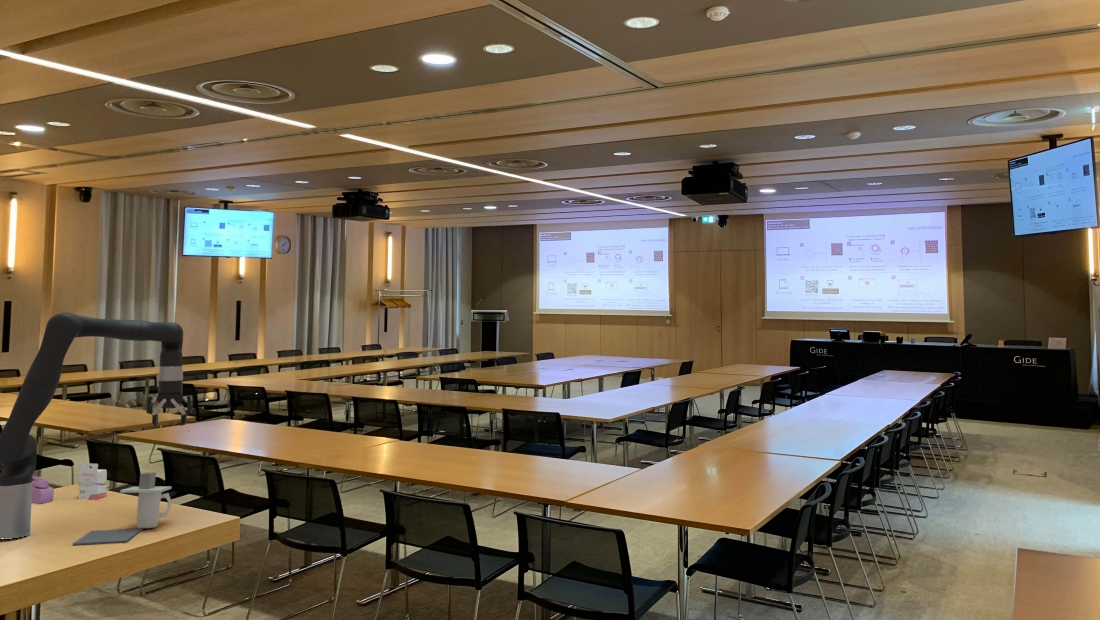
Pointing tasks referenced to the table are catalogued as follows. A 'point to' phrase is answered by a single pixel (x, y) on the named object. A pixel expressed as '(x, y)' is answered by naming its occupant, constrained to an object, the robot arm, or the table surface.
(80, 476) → the ink cartridge box
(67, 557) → the table surface
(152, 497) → the mug
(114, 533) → the rubber mat
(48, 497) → the toy telephone
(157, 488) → the cover plate
